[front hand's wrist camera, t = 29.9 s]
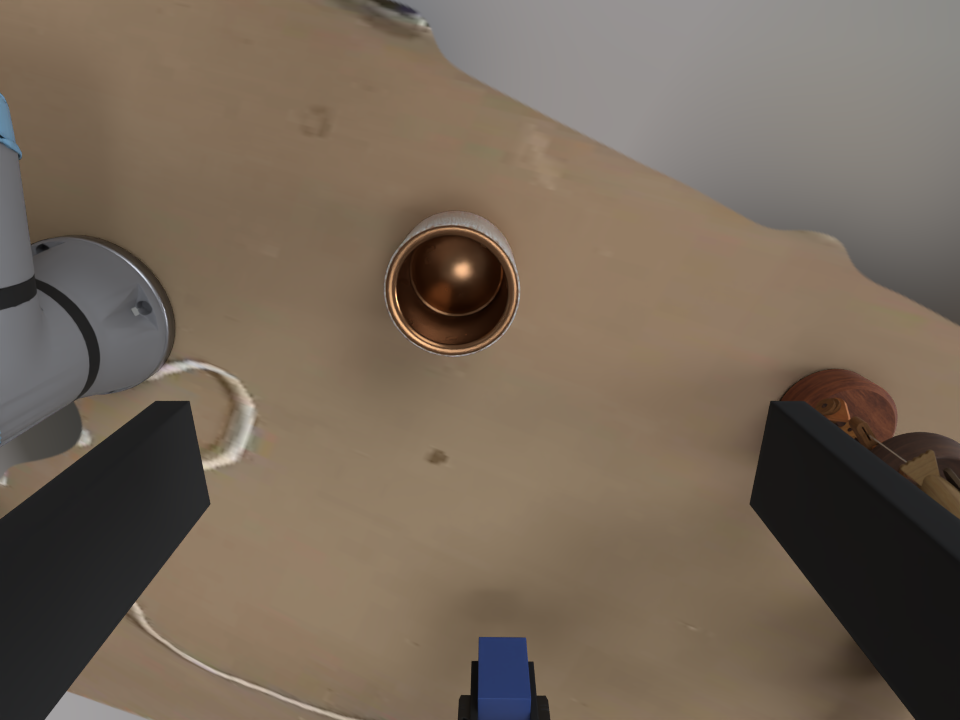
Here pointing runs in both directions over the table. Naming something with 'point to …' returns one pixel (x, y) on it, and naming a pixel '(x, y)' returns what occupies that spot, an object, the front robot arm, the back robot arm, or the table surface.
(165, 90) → the table surface
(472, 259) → the planter
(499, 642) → the brick
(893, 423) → the music box
